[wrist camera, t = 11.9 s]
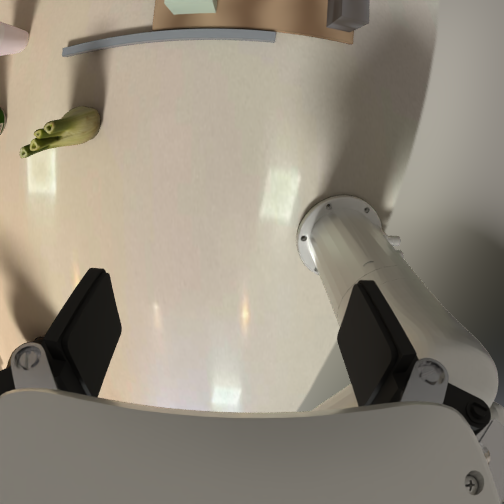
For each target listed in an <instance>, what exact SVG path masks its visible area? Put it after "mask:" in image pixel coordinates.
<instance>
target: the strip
mask: <svg viewBox="0 0 504 504" xmlns="http://www.w3.org/2000/svg"><path fill="white" fill-rule="evenodd" d="M368 23H369V0H217V8H216V13H194V14H176V15H174V14H173V13H172V12H171V11H170V10H169V8H168V7H167V6H166V5H165V4H164V0H156V1H155V9H154V17H153V27H152V31H153V32H154V31H165V30H179V29H247V30H262V31H273V32H282V33H290V34H298V35H305V36H311V37H317V38H323V39H328V40H333V41H338V42H343V43H347V44H353V35H354V30H356V29H358V28H360V27H362V26H364V25H366V24H368Z"/></svg>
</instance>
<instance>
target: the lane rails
mask: <svg viewBox="0 0 504 504" xmlns="http://www.w3.org/2000/svg"><path fill="white" fill-rule="evenodd" d="M275 36H276V32H271V31H260V30H244V29H182V30H167V31H155V32H146V33H138V34H130V35H123V36H117V37H111V38H106V39H101V40H96V41H91V42H86V43H82V44H78V45H74V46H70V47H66V48H63V53H62V57H69V56H73V55H77V54H82V53H86V52H91V51H96V50H102V49H107V48H113V47H119V46H126V45H134V44H142V43H151V42H163V41H178V40H245V41H260V42H271V43H274V42H275Z"/></svg>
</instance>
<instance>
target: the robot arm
mask: <svg viewBox="0 0 504 504" xmlns="http://www.w3.org/2000/svg"><path fill="white" fill-rule="evenodd" d="M327 204H329V205H328V206H326V205H327ZM365 208H366V209H365ZM302 236H304V237H302ZM400 241H401V240H400V237H399V236H387V235H386V234H385V232H384V231H383V230H382V225H381V221H380V218H379V216H378V214H377V213H376V211H375V210H374V209H373V208H372V207H371V206H370V205H369V204H368V203H367V202H365V201H364V200H362V199H360V198H357V197H354V196H348V195H340V196H334V197H330V198H327V199H325V200H323V201H321V202H319V203H318V204H316V205H315V206H314V207H312V208H311V209H310V211H309V212H308V213H307V214H306V215H305V217H304V218H303V220H302V221H301V224H300V226H299V229H298V233H297V249H298V253H299V255H300V258H301V260H302V262H303V263H304V265H305V266H306V267H307V268H308V269H309V270H310V271H312V272H313V273H315V274H317V275H319V276H320V278H321V280H322V283H323V285H324V288H325V290H326V293H327V295H328V298H329V300H330V303H331V305H332V308H333V311H334V313H335V316H336V318H337V321H338V324H339V326H340V329H339V332H338V337H337V340H338V344H339V348H340V350H341V353H342V357H343V360H344V363H345V365H346V369H347V371H348V375H349V378H350V381H351V384H350V385H348V386H347V387H345V388H344V389H342V390H341V391H340V392H338V393H337V394H335V395H334V396H332V397H331V398H329V399H328V400H326V401H325V402H323V403H322V404H320V405H319V406H317V407H316V408H315V409H313V410H312V411H305V412H304V411H303V412H277V413H236V412H211V411H195V410H183V409H172V408H163V407H155V406H147V405H140V404H133V403H126V402H120V401H115V400H109V399H103V398H98V395H99V392H100V389H101V386H102V383H103V380H104V377H105V375H106V372H107V369H108V366H109V364H110V361H111V358H112V356H113V353H114V350H115V348H116V345H117V343H118V340H119V337H120V335H121V330H122V327H121V322H120V318H119V314H118V310H117V306H116V302H115V298H114V293H113V289H112V284H111V279H110V275H109V273H106V271H105V270H104V269H99V268H90V269H89V270H88V271H87V272H86V274H85V275H84V277H83V278H82V280H81V281H80V282H79V284H78V285H77V287H76V288H75V290H74V291H73V293H72V294H71V296H70V297H69V299H68V300H67V302H66V303H65V305H64V306H63V308H62V309H61V311H60V312H59V314H58V315H57V317H56V319H55V320H54V322H53V323H52V325H51V327H50V328H49V330H48V332H47V333H46V335H45V337H44V338H43V342H42V343H41V345H40V344H37V343H26V344H23V345H21V346H19V347H18V348H17V349H16V350H15V351H14V353H13V354H12V357H11V366H10V367H8V368H6V369H4V370H1V371H0V504H504V408H503V407H502V406H501V405H499V404H497V403H496V402H494V398H495V396H496V393H497V389H498V373H497V369H496V366H495V364H494V362H493V360H492V358H491V357H490V355H489V353H488V352H487V351H486V349H485V348H484V347H483V346H482V344H481V343H480V342H479V341H478V340H477V339H476V338H475V337H474V336H473V335H472V334H471V333H470V332H469V331H468V330H467V329H466V328H465V327H464V326H463V325H461V324H460V323H459V322H458V321H457V320H456V319H455V318H454V317H453V316H452V315H451V314H450V313H449V312H448V311H447V310H446V309H445V308H444V307H443V305H441V303H440V302H439V301H438V300H437V299H436V297H435V296H434V295H433V294H432V293H431V292H430V290H429V289H428V288H427V287H426V286H425V285H424V283H423V282H422V281H421V279H420V278H419V277H418V276H417V275H416V273H415V272H414V271H413V270H412V269H411V267H410V266H409V265H408V264H407V262H406V261H405V260H404V259H403V252H402V251H401V250H395V249H394V247H393V246H399V245H400Z"/></svg>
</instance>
